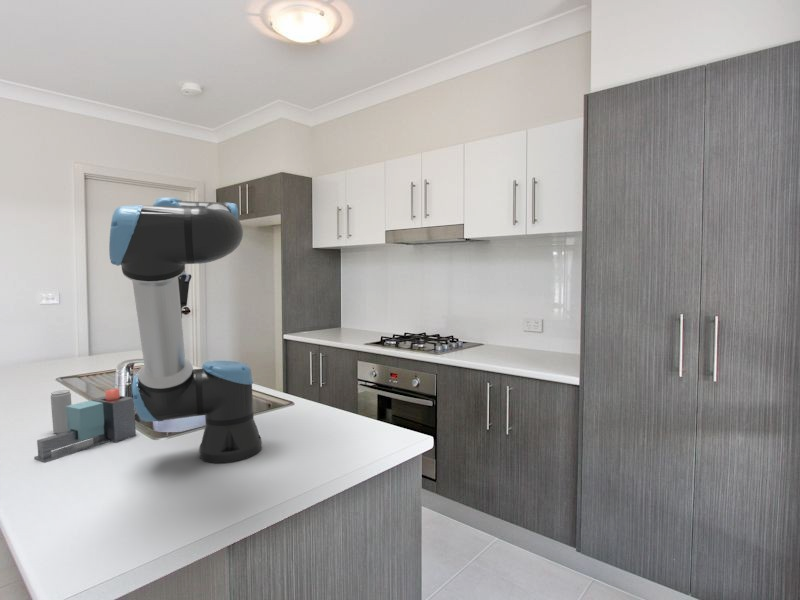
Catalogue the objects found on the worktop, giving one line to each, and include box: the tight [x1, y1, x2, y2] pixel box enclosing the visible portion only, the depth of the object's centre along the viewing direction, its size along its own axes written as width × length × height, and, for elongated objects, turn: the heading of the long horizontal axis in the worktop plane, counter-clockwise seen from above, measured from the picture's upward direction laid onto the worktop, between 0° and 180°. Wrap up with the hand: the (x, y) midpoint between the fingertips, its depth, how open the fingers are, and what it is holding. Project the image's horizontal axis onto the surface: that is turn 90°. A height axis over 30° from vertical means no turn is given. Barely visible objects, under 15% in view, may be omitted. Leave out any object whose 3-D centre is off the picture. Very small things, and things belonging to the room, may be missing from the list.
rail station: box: [33, 395, 137, 463], centre depth 125 cm, size 10×22×11 cm, turn 153°
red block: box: [104, 388, 121, 402], centre depth 132 cm, size 3×3×5 cm
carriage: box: [66, 400, 104, 442], centre depth 125 cm, size 6×6×9 cm
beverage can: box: [50, 389, 72, 435], centre depth 137 cm, size 5×5×12 cm
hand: (176, 330), depth 138 cm, fingers closed
